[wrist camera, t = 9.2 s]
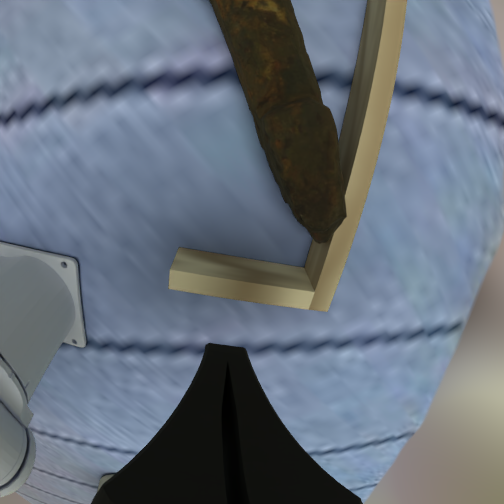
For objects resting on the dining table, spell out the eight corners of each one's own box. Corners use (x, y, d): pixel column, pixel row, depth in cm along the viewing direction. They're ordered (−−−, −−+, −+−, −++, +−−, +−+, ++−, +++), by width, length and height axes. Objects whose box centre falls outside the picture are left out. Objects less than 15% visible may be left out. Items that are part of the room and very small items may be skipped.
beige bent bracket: (177, 264, 19) (168, 288, 16) (255, -84, 10) (258, -109, 7) (316, 286, 20) (327, 311, 18) (390, -44, 11) (410, -61, 8)
